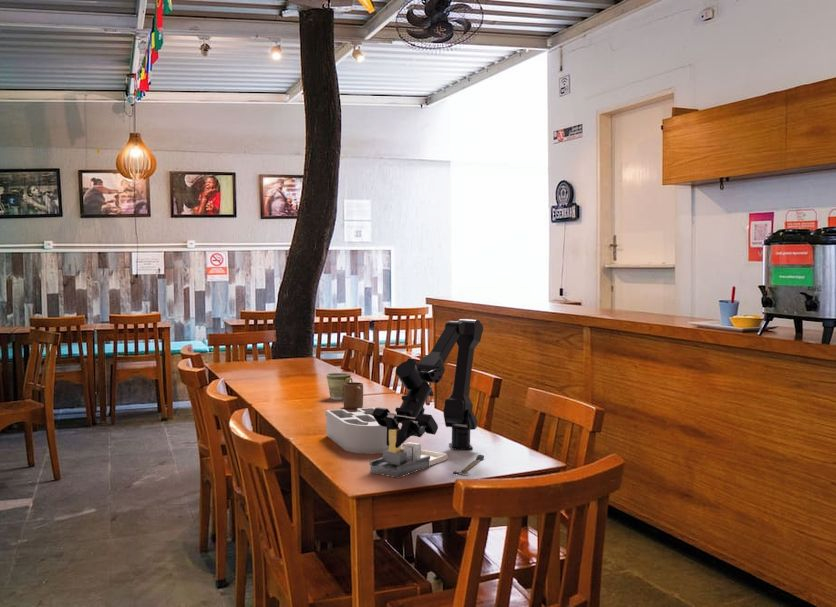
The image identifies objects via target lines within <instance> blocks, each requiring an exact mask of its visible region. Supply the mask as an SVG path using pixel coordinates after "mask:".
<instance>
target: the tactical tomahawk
mask: <svg viewBox="0 0 836 607" xmlns="http://www.w3.org/2000/svg"><path fill="white" fill-rule="evenodd" d="M484 458H485V455H484V454H479V455H477V456H476V457H475V459H473V460H472V461H471V462H470V463H469V464H468V465H467V466H465V467H464V468H463V469H462V470H460V471H456V470H455V471H453V472H452V474H453V475H454V474H455V475H454V476H456V474H457V475H458V476H463V477H469V476H470V475H472V474H471V473H469V472H468V471H470V470H471V469H472V468H474V467H475V466H476V465H477V464H479V463H480V462H481V461H482V460H483V459H484Z"/></svg>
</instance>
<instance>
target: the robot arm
mask: <svg viewBox="0 0 836 607" xmlns="http://www.w3.org/2000/svg"><path fill="white" fill-rule="evenodd" d="M483 332H484V327H483V323H482V322H481V321H480V320H479V319H470V318H469V319H468V318H460V319H458V320H457V321H455V320H449V321H446V322H445V324H444V329H443V330H442V332H441V334H440V335H439V337H438V338H437V340H436V343H435V344H434V346H433V347H432V349H431V351H430V352H429V353H428V354H427V355H424V356H423V357H422V358H421V359H420V360H419V361H418V362H417V361H416V359H415V358H407V360H406V361H403V362H401V363H400V364H398V365H397V366H396V369H395V374H396V376H397V377H398V379H399V381H400V382H401V384H402V385H403V387H404V388H405V389H407V390H408V391H407V392H406V394H405V395H402V396H401V398H400V399H401V400H402V402H401V403H400V405H399V407H398V406H396V407H395V409H394V411H395V412H396V413H394V412H391V411H390V410H389V408H386V407H385V408H384V407H374V408H375V409H374V411H373V413H372V415H373V417H374V418H375V420H376V421H377V422H378V424H379V425H380V426H383V427H387V443H386V444H387V446H389V430H390V429H393V428H396V429H400V432H399V435H398V437H397V440H396V444H395V447H396V448H398V447H399V446H400V445H402V444H404V443H405V442H406V441H407V440H408V439H409V438H411V437H417V438H422V437H423V436H424V434H425V433H426V434H429V435H436V434H437V432H438V429H439V425H438V423H437V421H436V419H435V418H434V417H433V415H432V414H427V413H425V410H426V408H424V405H425V404H426V402H427V400H428V397H434V395H435V394H434V391H433V386H431V385H430V384H439V383H440V382H441V380H442V379H443V376H444V373H445V371H446V368H445V363H446V361H447V358H448V357H449V355H450V353H451V352H452V350H453V348H454V346H455V344H456V346H457V356H456V364H455V369H454V370H455V371H454V378H453V379H454V380H453V388H452V392H451V395H450V396H449V397H448V398H445V400H444V407H443V419H444V425H445V428H451V443H448V446H449V448H451V450H473V449H474V447H473V445H471V431H472V430H476V429H477V428H478V422H479V421H478V419H477V417H476V416H475V414H474V412H473V408H474V406H473V403H472V401H471V398H470V397H469V395H470V387H471V386H470V385H471V380H472V379H471V377H472V371H473V370H472V369H473V361H474V356H475V355H474V353H475V349H476V347H477V346H478V345H479V343H480V342H481V340H482V334H483ZM399 424H401V426H400V427H399Z"/></svg>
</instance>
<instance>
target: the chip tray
mask: <svg viewBox="0 0 836 607" xmlns="http://www.w3.org/2000/svg"><path fill="white" fill-rule="evenodd" d="M425 456H430V460H429V467H431V466H430V465H432V466H434V465H437V464H439V463H442V462H444V461H447V460H448V459H449V454H448V453H444V452H438V451H432V450H425V449H421V458H422V457H425ZM436 463H437V464H436ZM433 464H434V465H433Z"/></svg>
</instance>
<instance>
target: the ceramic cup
mask: <svg viewBox="0 0 836 607" xmlns="http://www.w3.org/2000/svg"><path fill="white" fill-rule="evenodd" d="M326 381H327V384H328V390H329V391H328V392H329V396H330V399H331V400H335V401H342V400H343V401H344V383H348V382H354V381H353V379H352V377H351V373H347V372H345V373H344V372H331V373H326Z"/></svg>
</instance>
